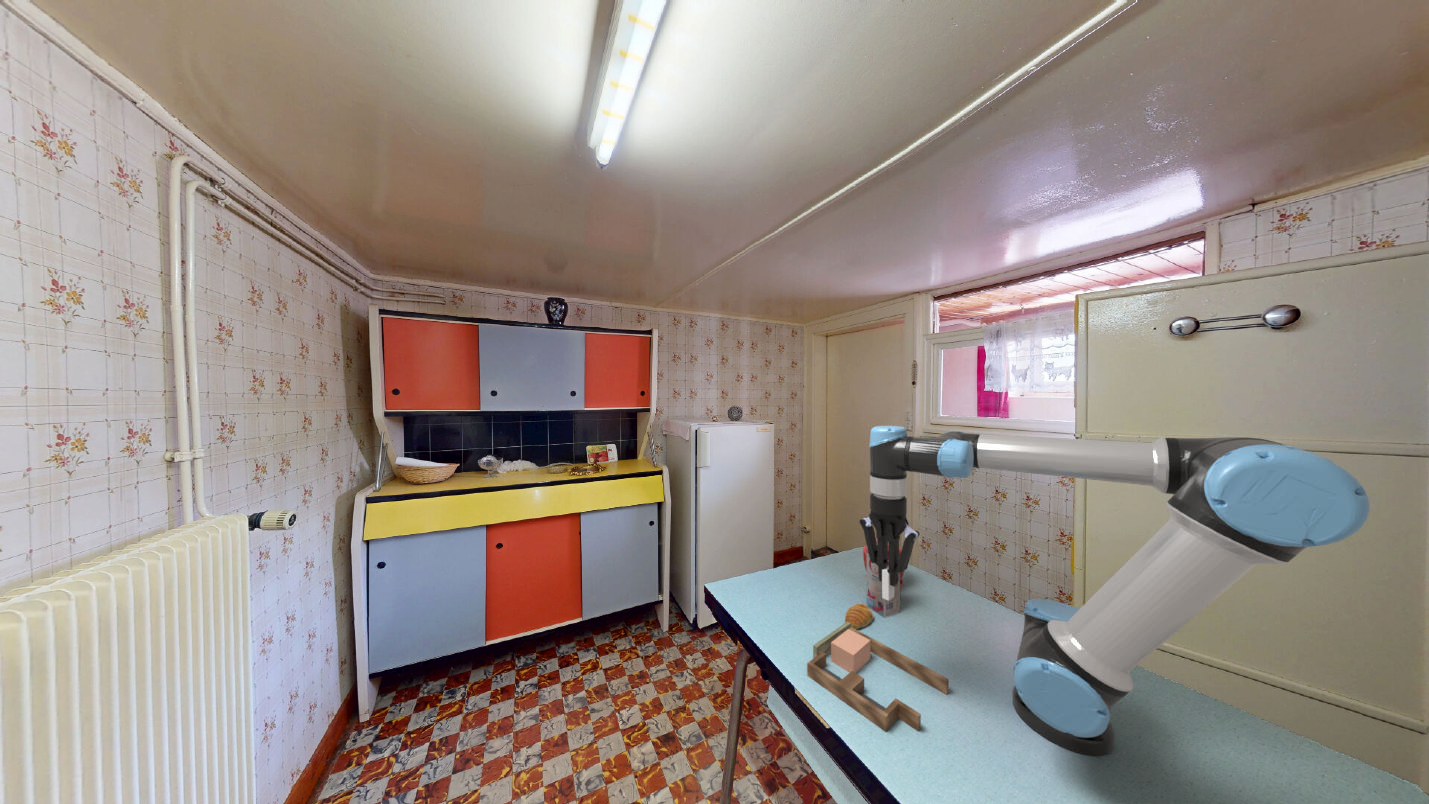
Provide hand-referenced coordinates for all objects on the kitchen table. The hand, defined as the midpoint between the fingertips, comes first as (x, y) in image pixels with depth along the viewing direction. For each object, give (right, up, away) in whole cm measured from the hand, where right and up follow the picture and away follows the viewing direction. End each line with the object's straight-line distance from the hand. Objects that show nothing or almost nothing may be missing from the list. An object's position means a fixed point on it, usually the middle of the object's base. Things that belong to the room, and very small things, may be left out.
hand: (888, 597), depth 86 cm
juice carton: (+12, -19, +29) cm, 37 cm away
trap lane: (-3, -20, +1) cm, 20 cm away
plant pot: (+18, -18, +44) cm, 51 cm away
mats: (-9, -20, -2) cm, 22 cm away
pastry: (+2, -20, +24) cm, 31 cm away
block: (-6, -20, +8) cm, 22 cm away
